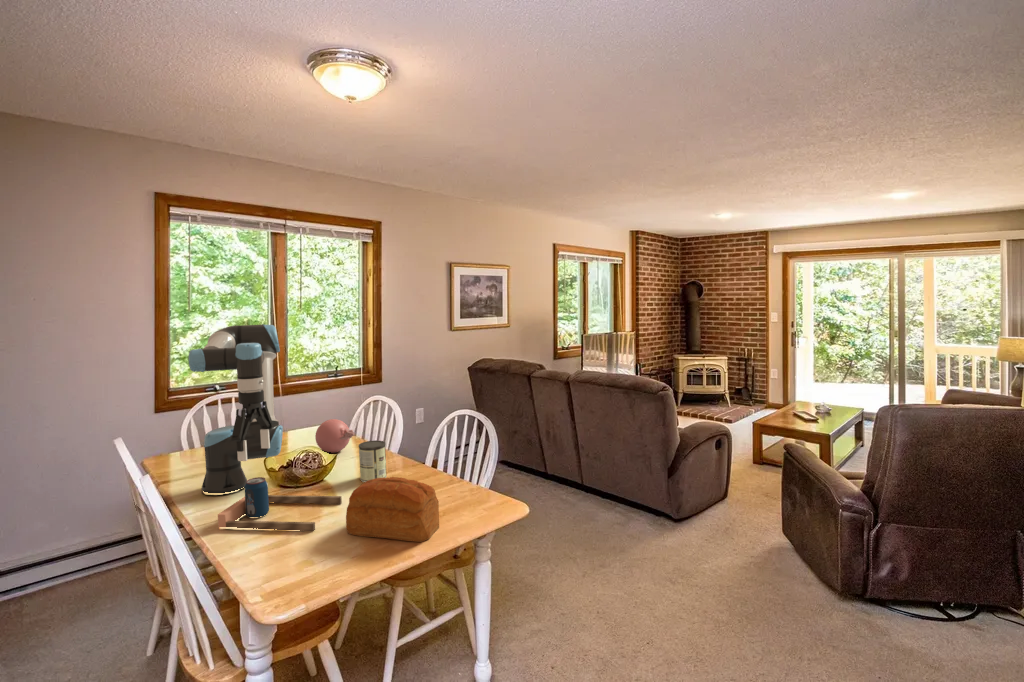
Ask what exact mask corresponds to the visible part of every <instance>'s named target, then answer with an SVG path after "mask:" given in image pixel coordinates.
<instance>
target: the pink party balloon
mask: <svg viewBox="0 0 1024 682" xmlns="http://www.w3.org/2000/svg"><path fill="white" fill-rule="evenodd" d="M355 434H356V433H355V432H354V429H350V428H349V426H348V424H346V423H345V422H344V421H342V420H340V419H336V418H332V419H331V418H330V419H327V420H325V421H323V422H322V423H321V424H320V425H319V426H318V427H317V429H316V432H315V436H314V437H315V442H316V445H317V447H319V448H320V449H321V450H322V451H323V450H324V451H323V452H325V451H327V452H326V453H329V452H331V453H330V454H332V453H338V452H341V451H343V450H344V449H345V448H346V447H347V445H349V442H350V440H351V438H353V437H354V436H355Z"/></svg>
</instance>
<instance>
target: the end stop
mask: <svg viewBox="0 0 1024 682" xmlns="http://www.w3.org/2000/svg"><path fill="white" fill-rule="evenodd" d="M244 514H246V505H245V496H244V497H242V498H240V499H238V500H237V501H236V502H235V503H233V504H231V505H230V506H228V507H227V508H225V509H224V510H222V511H221V512H219V513H218V514H217V523H218V528H219V527H226V522H227V521H235V520H237V519H238V518H240V517H241V516H242V515H244Z"/></svg>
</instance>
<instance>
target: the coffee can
mask: <svg viewBox="0 0 1024 682" xmlns="http://www.w3.org/2000/svg"><path fill="white" fill-rule="evenodd" d="M386 452H387V451H386V442H385V441H384V440H368V441H363V442H360V443H359V444H358V455H359V474H360V476H359V477H360V479H359V480H361V481H362V483H364V482H366V481H368V480H372V479H376V478H386V477H387V459H386V458H387V457H386V455H387V454H386ZM387 478H388V477H387ZM361 481H360V482H361Z"/></svg>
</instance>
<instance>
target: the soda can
mask: <svg viewBox="0 0 1024 682" xmlns="http://www.w3.org/2000/svg"><path fill="white" fill-rule="evenodd" d="M244 488H245V489H244V497H245V505H246V517H247V518H249V517H260V516H264V515H266V514H267V515H268V514H269V512H270V511H269V510H270V503H269V499H268V495H269V483H268V481H267V480H266V478H265V477H260V476H257V477H252V478H250V479H247V481H246V485H245V487H244ZM267 515H266V516H267ZM264 517H265V516H264Z"/></svg>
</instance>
